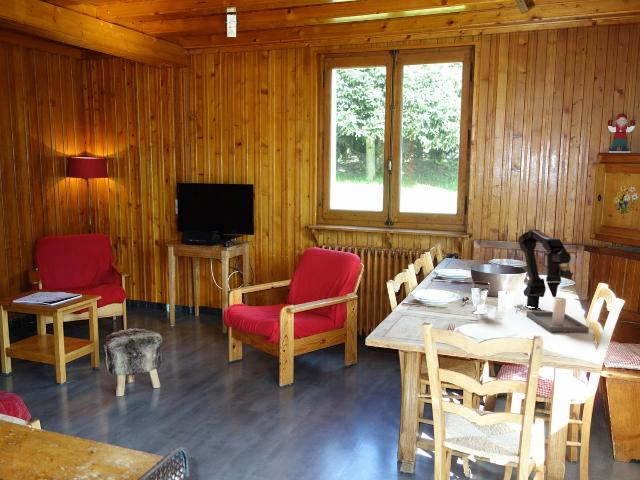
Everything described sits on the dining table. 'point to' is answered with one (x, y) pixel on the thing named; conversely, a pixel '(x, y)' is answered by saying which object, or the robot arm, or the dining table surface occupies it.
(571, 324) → the tray
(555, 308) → the canister
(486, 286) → the wine glass
